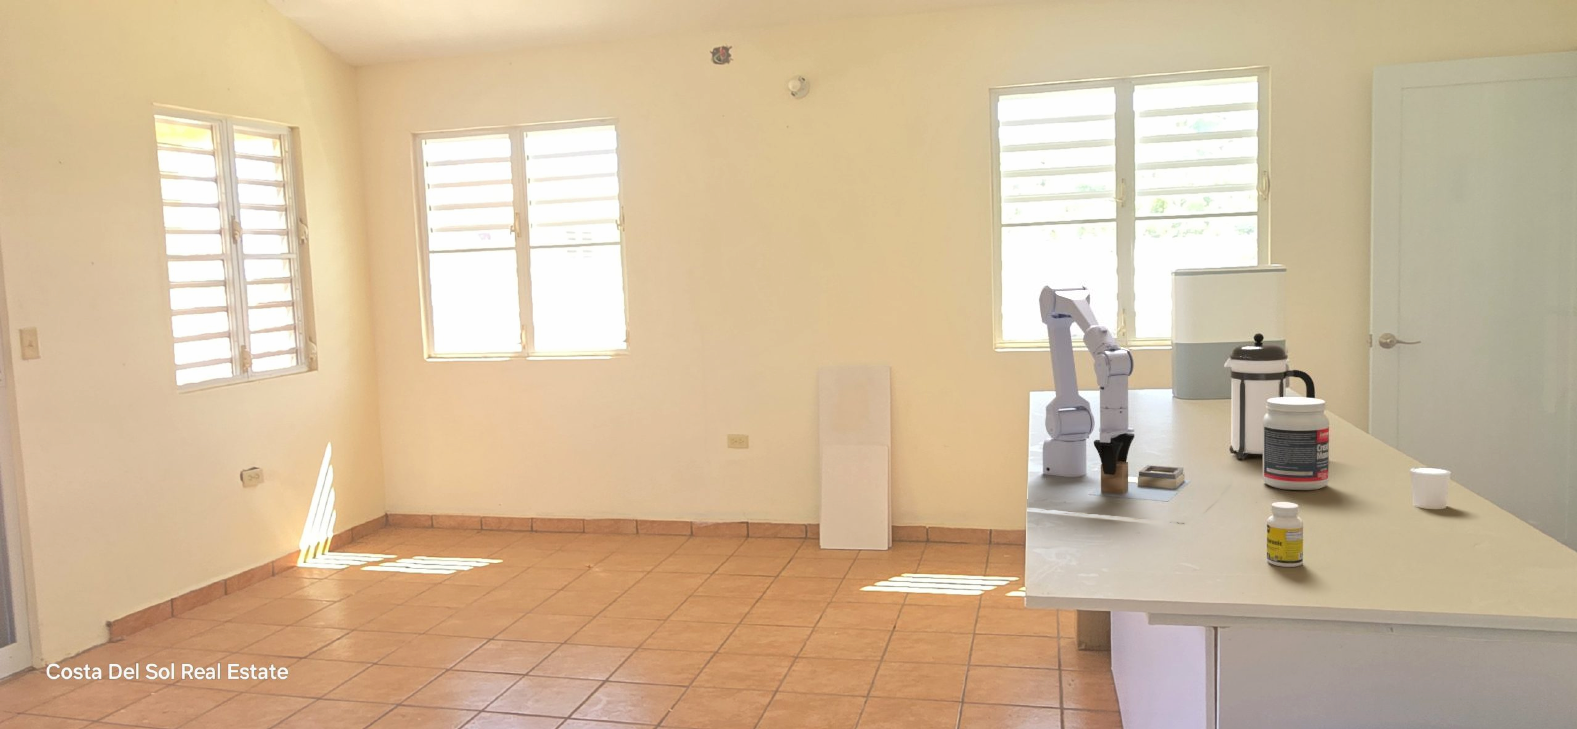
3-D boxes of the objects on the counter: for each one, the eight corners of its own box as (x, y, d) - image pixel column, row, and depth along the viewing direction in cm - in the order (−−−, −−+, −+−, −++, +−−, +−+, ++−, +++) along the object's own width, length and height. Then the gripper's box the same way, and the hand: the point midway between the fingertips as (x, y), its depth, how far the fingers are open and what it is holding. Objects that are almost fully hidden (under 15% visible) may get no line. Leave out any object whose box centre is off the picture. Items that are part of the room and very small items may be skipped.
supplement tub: (1336, 492, 222) (1337, 404, 220) (1270, 492, 225) (1270, 405, 223) (1318, 479, 235) (1320, 395, 233) (1256, 478, 238) (1256, 396, 236)
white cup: (1445, 502, 211) (1446, 467, 210) (1454, 510, 205) (1455, 474, 204) (1405, 500, 213) (1406, 466, 213) (1413, 509, 207) (1414, 473, 206)
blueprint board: (1088, 498, 226) (1088, 480, 225) (1117, 477, 244) (1117, 461, 244) (1167, 505, 217) (1167, 486, 217) (1191, 483, 236) (1191, 466, 235)
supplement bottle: (1260, 559, 179) (1260, 501, 178) (1291, 557, 179) (1292, 499, 178) (1277, 568, 174) (1278, 509, 172) (1309, 566, 174) (1310, 507, 173)
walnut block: (1100, 492, 227) (1100, 464, 226) (1107, 488, 231) (1106, 460, 230) (1122, 494, 225) (1122, 466, 224) (1128, 489, 228) (1128, 462, 228)
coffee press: (1266, 465, 251) (1267, 337, 248) (1211, 455, 265) (1211, 334, 262) (1316, 456, 259) (1317, 332, 256) (1259, 446, 273) (1260, 329, 270)
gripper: (1123, 412, 218) (1124, 478, 219) (1142, 403, 230) (1142, 465, 231) (1089, 411, 221) (1090, 476, 223) (1109, 401, 233) (1109, 463, 235)
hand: (1114, 470), depth 227 cm, fingers open, 7 cm apart
